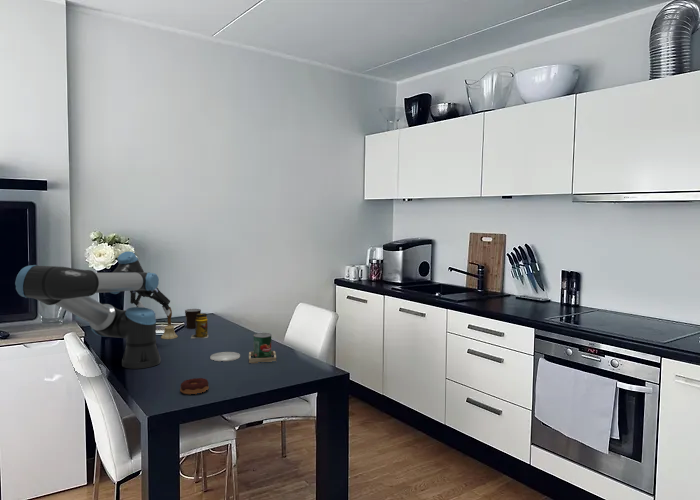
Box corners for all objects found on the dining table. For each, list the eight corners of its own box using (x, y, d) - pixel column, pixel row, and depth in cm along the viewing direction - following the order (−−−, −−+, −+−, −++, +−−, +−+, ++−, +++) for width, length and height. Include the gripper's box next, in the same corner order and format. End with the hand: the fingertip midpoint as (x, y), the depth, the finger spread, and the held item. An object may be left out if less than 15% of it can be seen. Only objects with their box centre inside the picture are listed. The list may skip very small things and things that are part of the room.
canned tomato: (267, 362, 217) (267, 337, 216) (250, 361, 218) (250, 336, 218) (273, 357, 225) (274, 333, 224) (257, 356, 226) (257, 332, 225)
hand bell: (180, 337, 259) (180, 306, 258) (165, 340, 253) (165, 308, 252) (172, 334, 264) (172, 304, 263) (157, 337, 258) (157, 306, 257)
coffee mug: (198, 329, 277) (198, 311, 276) (182, 329, 277) (182, 311, 277) (204, 325, 289) (204, 307, 288) (189, 324, 289) (189, 307, 288)
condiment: (207, 338, 258) (207, 315, 258) (190, 338, 257) (190, 315, 256) (208, 334, 266) (208, 312, 265) (191, 335, 264) (191, 312, 263)
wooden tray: (276, 362, 217) (276, 357, 217) (249, 363, 215) (249, 359, 215) (275, 355, 228) (275, 350, 228) (249, 356, 226) (249, 351, 226)
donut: (173, 393, 178) (173, 382, 177) (191, 385, 187) (191, 374, 187) (197, 397, 174) (197, 386, 174) (214, 388, 183) (214, 378, 183)
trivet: (231, 362, 216) (231, 360, 216) (204, 360, 219) (204, 358, 219) (245, 354, 228) (245, 353, 228) (219, 352, 231) (219, 350, 231)
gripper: (166, 276, 229) (182, 308, 242) (120, 274, 235) (138, 306, 248) (159, 287, 223) (175, 320, 236) (111, 285, 229) (130, 317, 242)
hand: (156, 313), depth 242 cm, fingers open, 13 cm apart
